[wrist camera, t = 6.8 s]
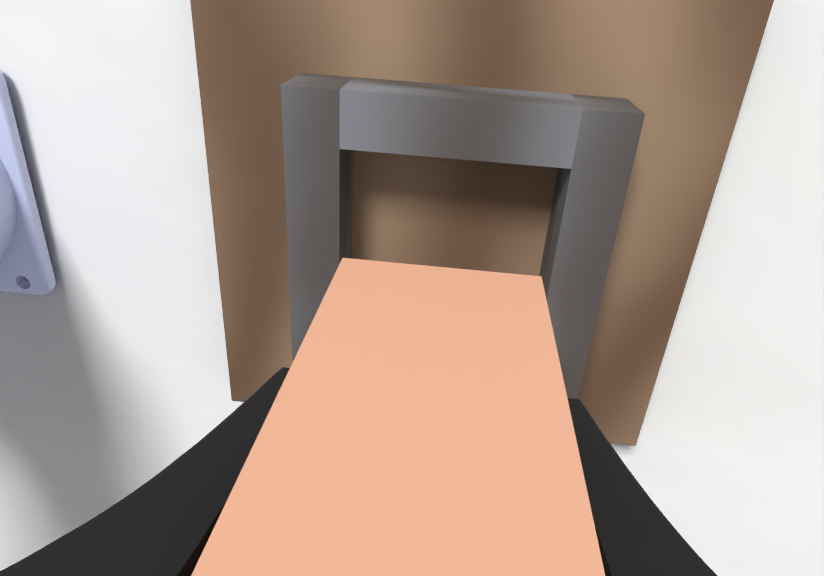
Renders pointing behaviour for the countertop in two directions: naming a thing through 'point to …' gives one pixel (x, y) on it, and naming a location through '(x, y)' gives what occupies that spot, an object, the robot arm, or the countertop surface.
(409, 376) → the peg
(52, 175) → the countertop surface
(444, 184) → the peg holder
